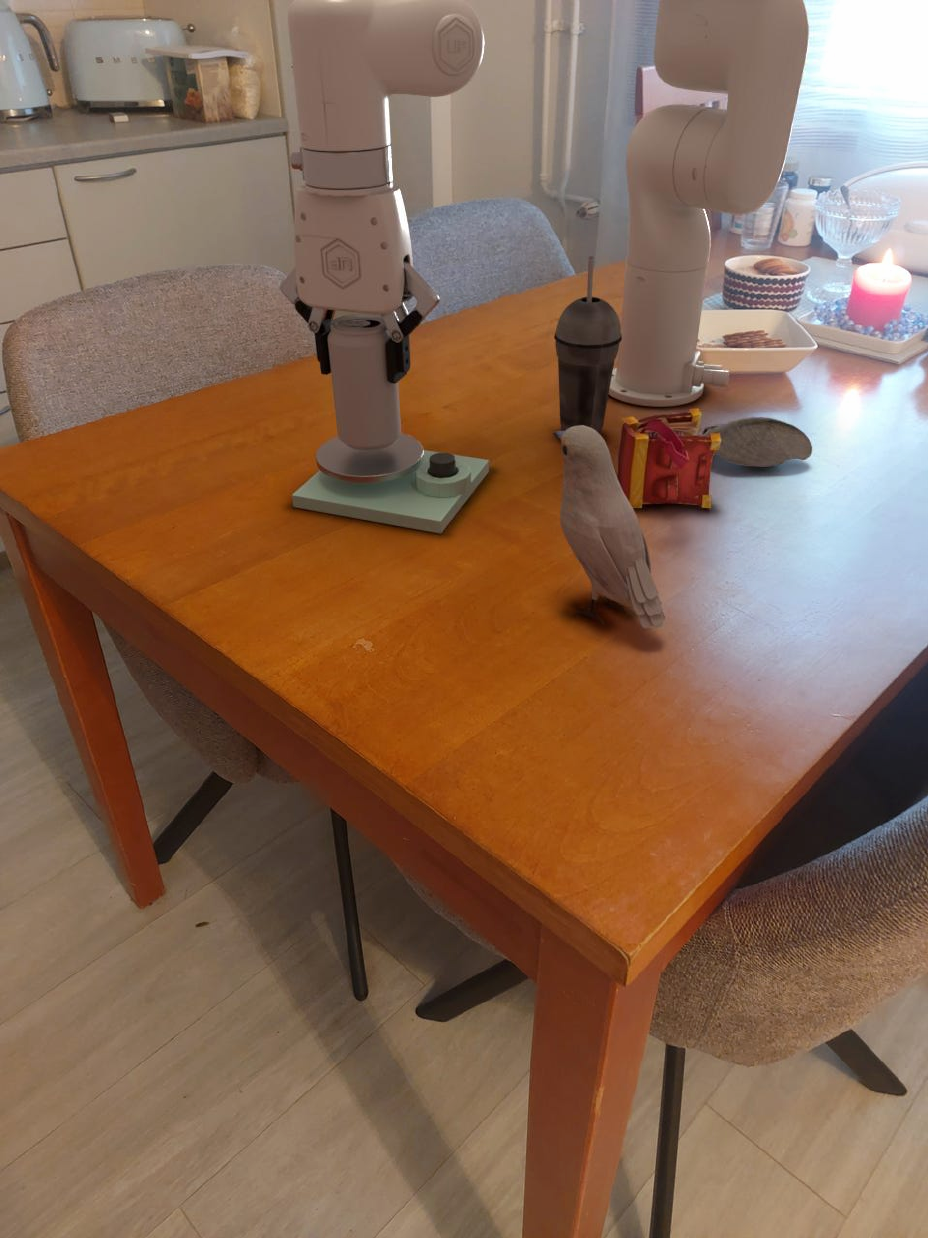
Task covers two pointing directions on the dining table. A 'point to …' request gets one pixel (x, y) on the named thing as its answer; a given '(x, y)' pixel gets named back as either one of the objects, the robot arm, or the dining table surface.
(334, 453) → the scale pan
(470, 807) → the dining table surface
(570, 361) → the beverage cup
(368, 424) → the beverage can
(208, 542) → the dining table surface
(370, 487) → the scale
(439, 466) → the button
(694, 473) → the book monster
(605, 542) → the bird
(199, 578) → the dining table surface
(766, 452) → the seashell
